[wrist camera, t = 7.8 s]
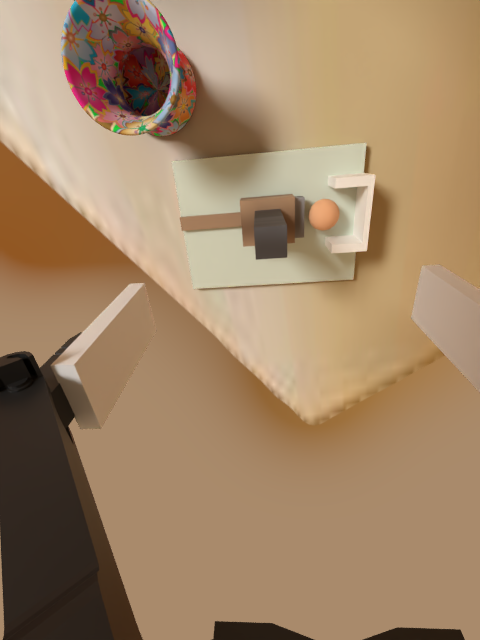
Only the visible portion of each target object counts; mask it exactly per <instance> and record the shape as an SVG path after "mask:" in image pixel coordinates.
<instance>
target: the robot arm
mask: <svg viewBox="0 0 480 640" xmlns="http://www.w3.org/2000/svg"><path fill="white" fill-rule="evenodd" d="M411 319H412V320H413V321H414V322H415V323H416V324H417V326H418V327H419V328H420V329H421V330H422V331H423V332H424V333H425V334H426V335H427V336H428V337H429V338H430V340H431V341H432V342H433V343H434V344H435V345H436V346H437V347H438V348H439V349H440V350H441V351H442V352H443V354H444V355H445V356H446V357H447V358H448V359H449V360H450V361H451V362H452V363H453V364H454V365H455V366H456V367H457V369H458V370H459V371H460V372H461V373H462V374H463V375H464V376H465V377H466V378H467V379H468V380H469V382H470V383H471V384H472V385H473V386H474V387H475V388H476V389H477V390H478V391H479V392H480V289H478V288H477V287H475V286H474V285H472V284H470V283H469V282H467V281H465V280H464V279H462V278H461V277H459V276H457V275H456V274H454V273H452V272H451V271H449V270H448V269H446V268H444V267H443V266H441V265H424V266H422V268H421V272H420V277H419V282H418V287H417V292H416V296H415V301H414V306H413V311H412V316H411ZM155 333H156V326H155V322H154V319H153V314H152V310H151V307H150V302H149V298H148V294H147V290H146V286H145V283H139V284H129V285H128V286H127V287H126V288H125V289H124V290H123V291H122V292H121V294H120V295H119V296H118V297H117V298H116V299H115V300H114V301H113V302H112V303H111V304H110V305H109V306H108V307H107V308H106V309H105V310H104V311H103V312H102V313H101V314H100V315H99V316H98V317H97V318H96V319H95V320H94V321H93V322H92V323H91V324H90V325H89V326H88V327H87V328H86V329H85V330H84V331H83V332H81V333H79V334H77V335H75V336H74V337H72V338H70V339H69V340H68V341H67V342H66V343H65V344H64V345H63V346H62V347H61V348H60V349H59V350H58V351H57V352H56V353H55V355H53V356H52V357H51V358H50V359H49V360H48V361H47V362H46V363H45V364H44V365H43V366H42V367H40V368H39V366H38V364H37V362H36V361H35V358H34V356H33V355H32V354H31V353H30V352H25V351H24V352H15V353H12V354H8V355H5V356H3V357H0V536H1V555H2V556H1V559H2V582H3V604H4V605H3V606H4V637H3V640H143V639H142V637H141V635H140V632H139V629H138V626H137V623H136V621H135V618H134V615H133V612H132V609H131V606H130V603H129V600H128V597H127V594H126V592H125V588H124V585H123V582H122V579H121V576H120V574H119V571H118V568H117V565H116V562H115V559H114V556H113V553H112V550H111V547H110V544H109V541H108V538H107V535H106V533H105V530H104V527H103V524H102V521H101V518H100V515H99V512H98V509H97V506H96V503H95V500H94V497H93V494H92V491H91V488H90V485H89V483H88V480H87V477H86V474H85V471H84V468H83V465H82V462H81V459H80V456H79V453H78V450H77V448H76V445H75V442H74V438H73V436H72V433H71V431H70V429H69V427H68V425H69V424H70V422H71V421H72V420H73V418H74V417H75V419H76V421H77V423H78V425H79V427H80V429H101V428H102V426H103V425H104V423H105V421H106V419H107V418H108V416H109V414H110V412H111V411H112V409H113V407H114V405H115V403H116V402H117V400H118V398H119V396H120V395H121V393H122V391H123V389H124V388H125V386H126V384H127V382H128V380H129V379H130V377H131V375H132V374H133V372H134V370H135V368H136V366H137V365H138V363H139V361H140V359H141V358H142V356H143V354H144V352H145V351H146V349H147V347H148V345H149V343H150V342H151V340H152V338H153V336H154V335H155ZM212 640H313V639H311V638H308V637H306V636H303V635H301V634H298V633H296V632H293V631H291V630H288V629H285V628H283V627H280V626H278V625H275V624H273V623H249V622H248V623H247V622H219V621H215V627H214V639H212ZM364 640H465V639H464V637H463V635H462V632H461V630H455V629H425V628H395V629H392V630H389V631H386V632H383V633H381V634H378V635H375V636H372V637H369V638H367V639H364Z"/></svg>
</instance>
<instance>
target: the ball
mask: <svg viewBox="0 0 480 640" xmlns="http://www.w3.org/2000/svg"><path fill="white" fill-rule="evenodd" d="M339 214H340V212H339V208H338V206H337V204H336V203H335V202H334V201H332V200H330V199H321V200H318V201H317V202H315V203H314V204H313V205H312V207H311V208H310V211H309V221H310V224H311V225H312V226H313V227H314V228H315V229H318V230H328V229H330V228H332V227H333V226H334V225H335V224H336V223H337V221H338V219H339Z"/></svg>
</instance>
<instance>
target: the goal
mask: <svg viewBox="0 0 480 640" xmlns="http://www.w3.org/2000/svg"><path fill="white" fill-rule="evenodd" d="M374 184H375V175H374V174H368V173H356V174H344V175H333V176H328V186H330V187H333V188H335V189H336V188H348V187H357V194H356V205H355V216H354V227H353V235H344V236H330V237H325V246H326V247H327V248H328V250H329V251H330V252H331V253H346V252H361V251H367V245H368V237H369V228H370V219H371V210H372V201H373V193H374Z"/></svg>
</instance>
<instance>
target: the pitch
mask: <svg viewBox="0 0 480 640" xmlns="http://www.w3.org/2000/svg"><path fill="white" fill-rule="evenodd" d="M366 144H367V143H358V144H348V145H337V146H327V147H316V148H306V149H296V150H285V151H275V152H264V153H254V154H244V155H233V156H223V157H213V158H202V159H192V160H181V161H172V167H173V173H174V179H175V185H176V191H177V197H178V203H179V208H180V214H181V217H180V222H181V227H182V231H183V232H184V238H185V244H186V250H187V256H188V262H189V268H190V274H191V280H192V285H193V289H201V288H218V287H235V286H252V285H269V284H285V283H302V282H319V281H336V280H353V278H354V268H355V257H356V252H346V253H331V252H330V251H329V250H328V248H327V247H326V246H325V237H330V236H344V235H353V227H354V216H355V205H356V194H357V187H348V188H336V189H335V188H333V187H330V186H328V176H333V175H344V174H356V173H364V164H365V154H366ZM284 194H293V195H294V196H303V197H305V210H304V237H303V238H295V243H288V244H287V258H274V259H259V260H256V255H255V246H245V247H243V238H242V225H241V213H240V199H241V198H248V197H260V196H272V195H284ZM321 199H330V200H332V201H334V202H335V203H336V204H337V206H338V208H339V212H340V214H339V219H338V221H337V223H336V224H335V225H334V226H333V227H332V228H330V229H328V230H318V229H315V228H314V227H313V226H312V225H311V224H310V221H309V211H310V208H311V207H312V205H313V204H314V203H315V202H317V201H318V200H321Z"/></svg>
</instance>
